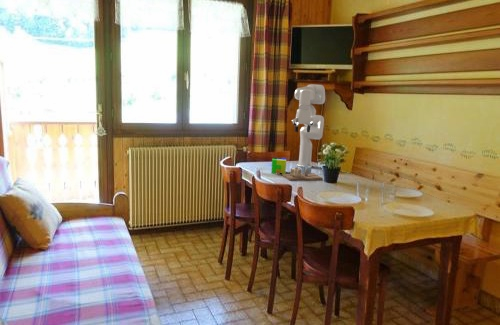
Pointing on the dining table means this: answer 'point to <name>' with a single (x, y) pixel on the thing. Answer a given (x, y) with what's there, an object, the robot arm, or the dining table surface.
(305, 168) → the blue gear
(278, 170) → the puzzle toy
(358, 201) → the dining table surface
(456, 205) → the dining table surface
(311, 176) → the gear board
